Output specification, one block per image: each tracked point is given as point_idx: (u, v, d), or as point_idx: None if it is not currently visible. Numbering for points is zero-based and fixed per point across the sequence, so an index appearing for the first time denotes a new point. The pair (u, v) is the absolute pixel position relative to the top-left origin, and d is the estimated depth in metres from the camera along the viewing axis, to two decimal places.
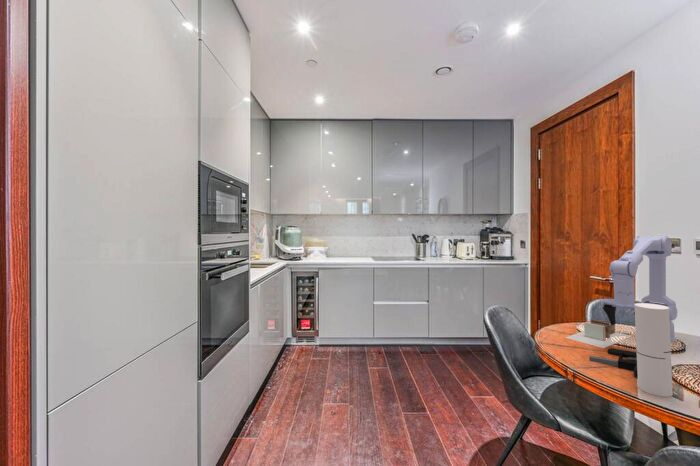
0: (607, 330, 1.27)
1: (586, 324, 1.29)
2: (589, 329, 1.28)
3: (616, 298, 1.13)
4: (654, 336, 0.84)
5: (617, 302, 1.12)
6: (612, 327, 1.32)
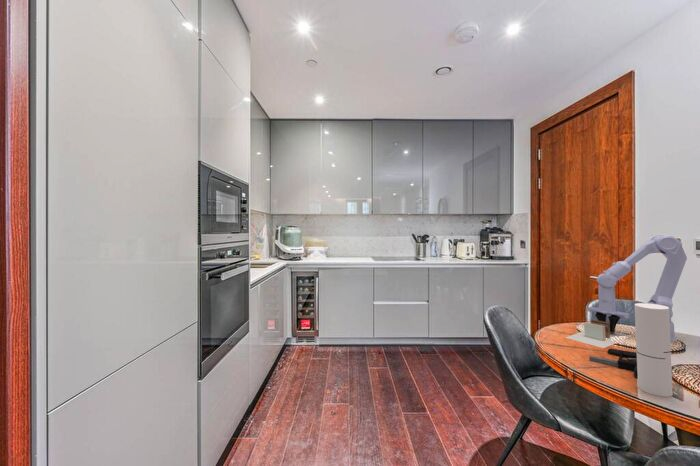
0: (607, 330, 1.27)
1: (586, 324, 1.29)
2: (589, 329, 1.28)
3: (600, 306, 1.33)
4: (654, 336, 0.84)
5: (601, 309, 1.32)
6: None
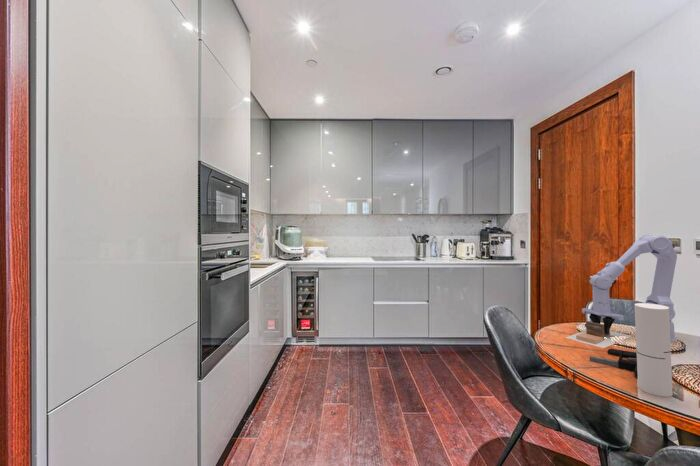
0: (602, 332, 1.25)
1: None
2: None
3: (594, 307, 1.30)
4: (654, 336, 0.84)
5: (595, 311, 1.30)
6: None
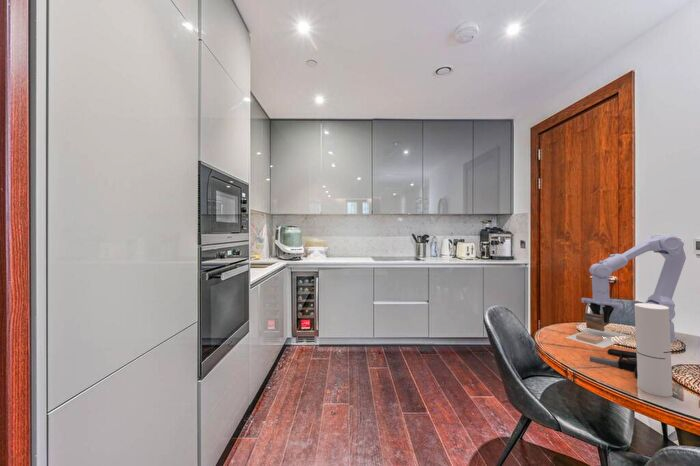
0: (601, 323, 1.25)
1: None
2: None
3: (594, 296, 1.30)
4: (654, 336, 0.84)
5: (595, 300, 1.30)
6: None
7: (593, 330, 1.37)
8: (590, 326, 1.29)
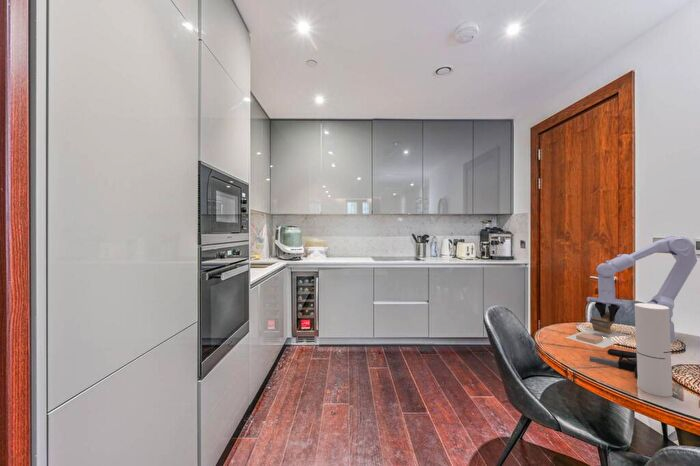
0: (607, 327, 1.27)
1: None
2: None
3: (600, 295, 1.33)
4: (654, 336, 0.84)
5: (600, 299, 1.32)
6: None
7: (593, 330, 1.37)
8: (597, 329, 1.31)
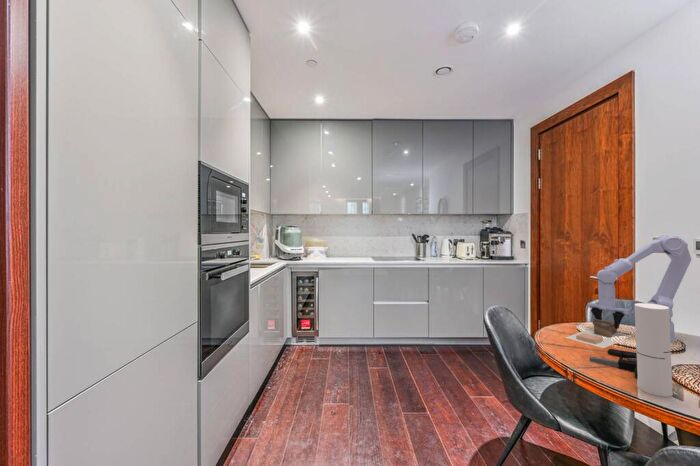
0: (609, 329, 1.28)
1: None
2: None
3: (600, 302, 1.33)
4: (654, 336, 0.84)
5: (601, 305, 1.32)
6: None
7: (593, 330, 1.37)
8: (598, 332, 1.31)
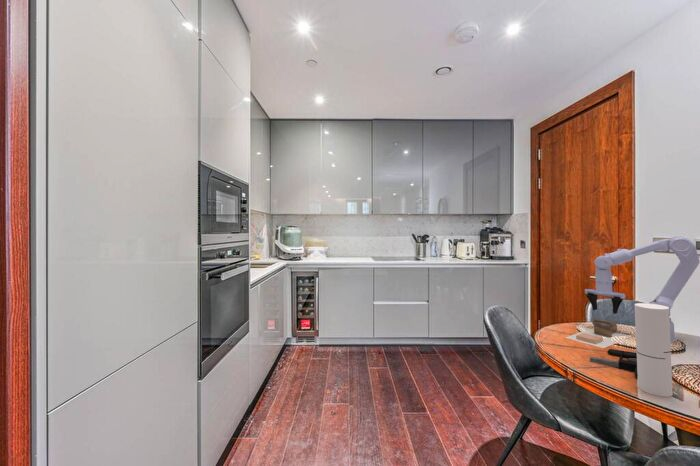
0: (609, 329, 1.28)
1: None
2: None
3: (597, 287, 1.36)
4: (654, 336, 0.84)
5: (598, 290, 1.35)
6: (614, 327, 1.33)
7: (593, 330, 1.37)
8: (598, 332, 1.31)
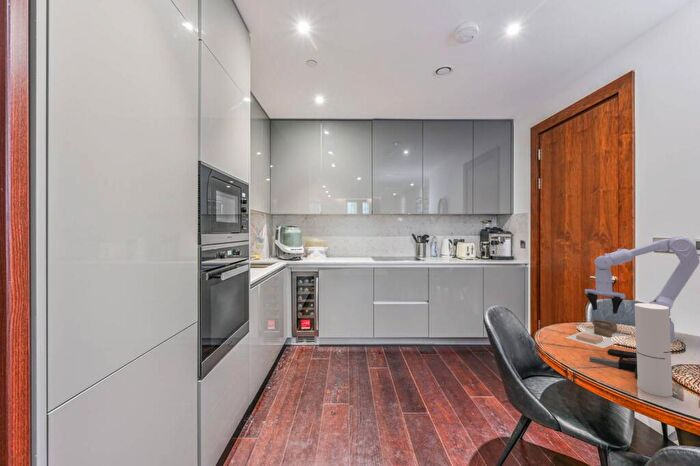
0: (609, 329, 1.28)
1: None
2: None
3: (597, 287, 1.36)
4: (654, 336, 0.84)
5: (598, 290, 1.35)
6: (614, 327, 1.33)
7: (593, 330, 1.37)
8: (598, 332, 1.31)
